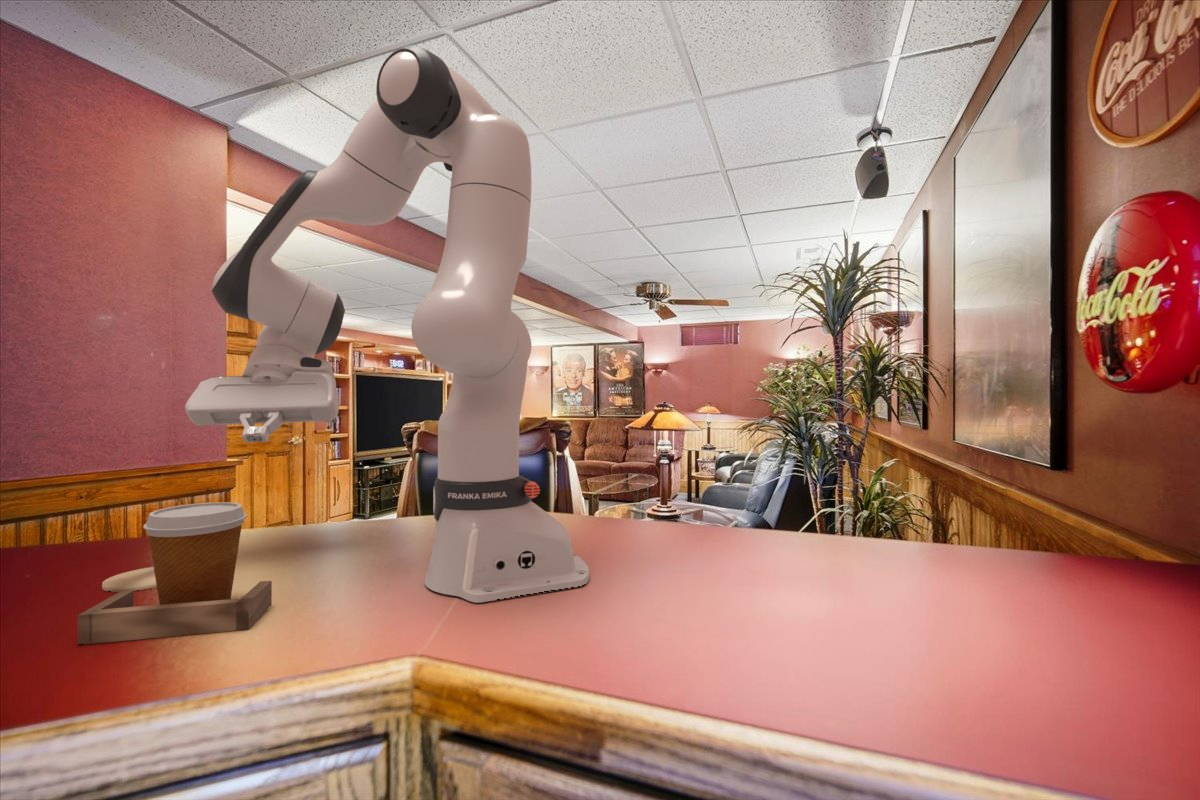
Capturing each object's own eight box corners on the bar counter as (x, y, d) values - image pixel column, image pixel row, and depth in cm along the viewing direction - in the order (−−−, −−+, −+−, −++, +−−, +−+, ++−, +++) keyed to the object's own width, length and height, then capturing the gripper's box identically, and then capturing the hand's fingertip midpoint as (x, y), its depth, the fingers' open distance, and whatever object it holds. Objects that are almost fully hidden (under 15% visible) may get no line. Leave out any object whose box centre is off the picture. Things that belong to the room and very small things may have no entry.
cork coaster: (201, 567, 77) (201, 563, 77) (167, 588, 68) (167, 584, 68) (128, 572, 75) (128, 568, 75) (84, 594, 66) (84, 590, 66)
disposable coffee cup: (192, 633, 55) (193, 520, 56) (119, 626, 57) (119, 516, 57) (265, 599, 65) (265, 503, 65) (199, 594, 67) (200, 500, 67)
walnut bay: (271, 605, 63) (271, 580, 63) (248, 629, 56) (248, 601, 56) (120, 617, 59) (120, 591, 59) (77, 645, 53) (77, 615, 53)
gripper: (195, 362, 81) (161, 427, 72) (339, 360, 86) (325, 421, 77) (210, 391, 85) (180, 457, 76) (346, 388, 91) (334, 449, 81)
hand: (254, 439), depth 76 cm, fingers closed
